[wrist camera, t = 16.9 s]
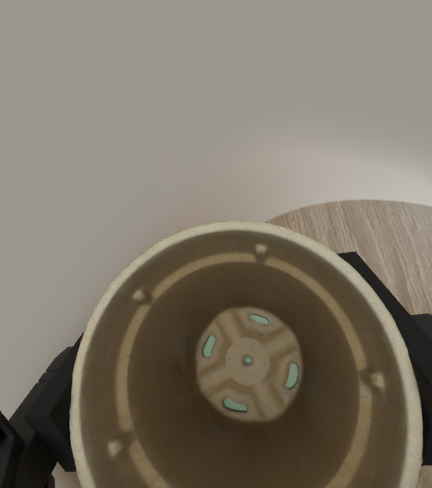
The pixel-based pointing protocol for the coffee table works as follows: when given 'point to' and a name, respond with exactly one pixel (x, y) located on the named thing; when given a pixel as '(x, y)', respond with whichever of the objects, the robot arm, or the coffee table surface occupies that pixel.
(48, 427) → the robot arm
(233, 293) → the flower pot
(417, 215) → the coffee table surface
